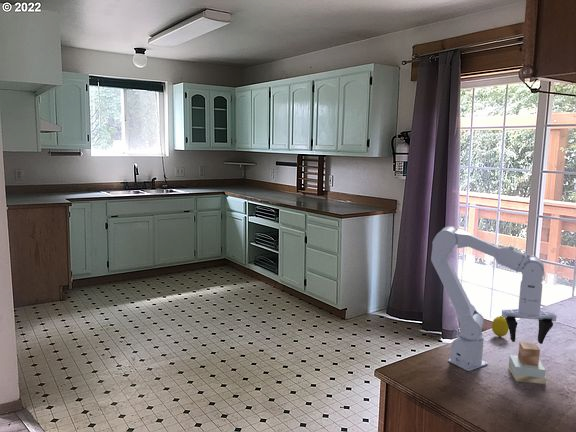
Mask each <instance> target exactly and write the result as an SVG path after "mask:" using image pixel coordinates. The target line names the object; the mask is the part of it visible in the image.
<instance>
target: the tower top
mask: <svg viewBox="0 0 576 432" xmlns="http://www.w3.org/2000/svg"><path fill="white" fill-rule="evenodd" d="M508 357H509V358H508V359H509V361H508V364H509V363H510V366H511V368H512V370H513V372H514V374H515V375H522V376H531V377H540V378H545V377H546V368H545V367H544V365H543V363H542V362H541V360H540V359H539V364H538V366H533V365H524V364H521V362H520V360H519V358H518V355H514V354H509V356H508Z"/></svg>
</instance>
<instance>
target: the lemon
mask: <svg viewBox="0 0 576 432" xmlns="http://www.w3.org/2000/svg"><path fill="white" fill-rule="evenodd" d="M491 330H492V332H493V334H494V335H495V336H497V337H498V338H501V337H504V336H506V335H507V334H508V332H509V327H508V324H507V322H506V319H505V318H503V317H502V315H500V316H496V317H495V318H494V319H493V321H492V323H491Z"/></svg>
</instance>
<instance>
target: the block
mask: <svg viewBox="0 0 576 432" xmlns="http://www.w3.org/2000/svg"><path fill="white" fill-rule="evenodd" d="M540 354H541V349H540V348H539V347H538V345H537V344H536V343H532V342H531V343H530V342H524V341H523V342H522V341H519V346H518V355H517V356H518V358H519V360H520V362H521V364H524V365H533V366H538V364H539V360H540Z"/></svg>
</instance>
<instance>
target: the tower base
mask: <svg viewBox="0 0 576 432" xmlns="http://www.w3.org/2000/svg"><path fill="white" fill-rule="evenodd" d="M508 368H509V369H508V370H509V372H510V373H512V374H511V375H512V377H513V379H514V380H515V382H518V383H519V382H520V383H521V382H523V383H529V384H530V383H531V384H532V383H534V384H541V385H542V384H544V385H546V383H547V381H546V380H547V376H545V378H540V377H531V376H522V375H515V374H514V372H513V370H512V368H511V366H510V363H509V362H508Z"/></svg>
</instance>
